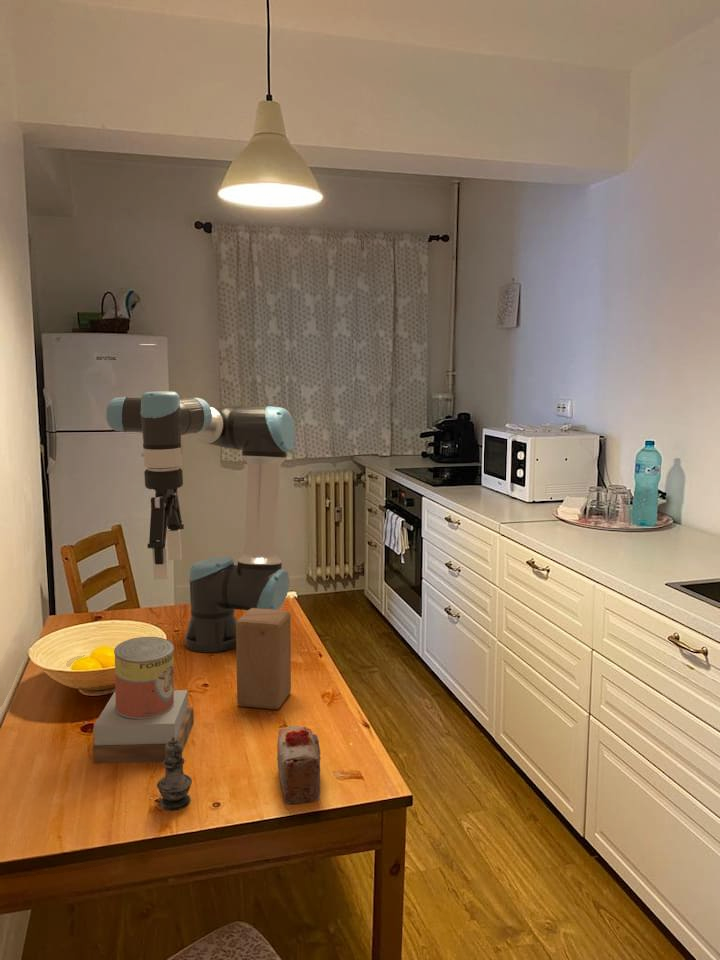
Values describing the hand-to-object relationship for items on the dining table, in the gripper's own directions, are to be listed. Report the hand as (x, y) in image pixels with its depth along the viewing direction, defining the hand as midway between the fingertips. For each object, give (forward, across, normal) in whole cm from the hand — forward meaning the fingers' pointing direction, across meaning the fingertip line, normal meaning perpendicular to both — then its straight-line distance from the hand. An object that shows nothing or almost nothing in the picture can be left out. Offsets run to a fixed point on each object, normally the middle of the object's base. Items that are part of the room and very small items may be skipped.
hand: (168, 569), depth 155 cm
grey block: (+29, +11, -4) cm, 31 cm away
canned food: (+25, +11, -4) cm, 27 cm away
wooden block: (+33, -7, +18) cm, 39 cm away
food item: (+33, +27, +28) cm, 51 cm away
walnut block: (+33, +11, -4) cm, 35 cm away
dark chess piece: (+32, +32, +6) cm, 46 cm away
